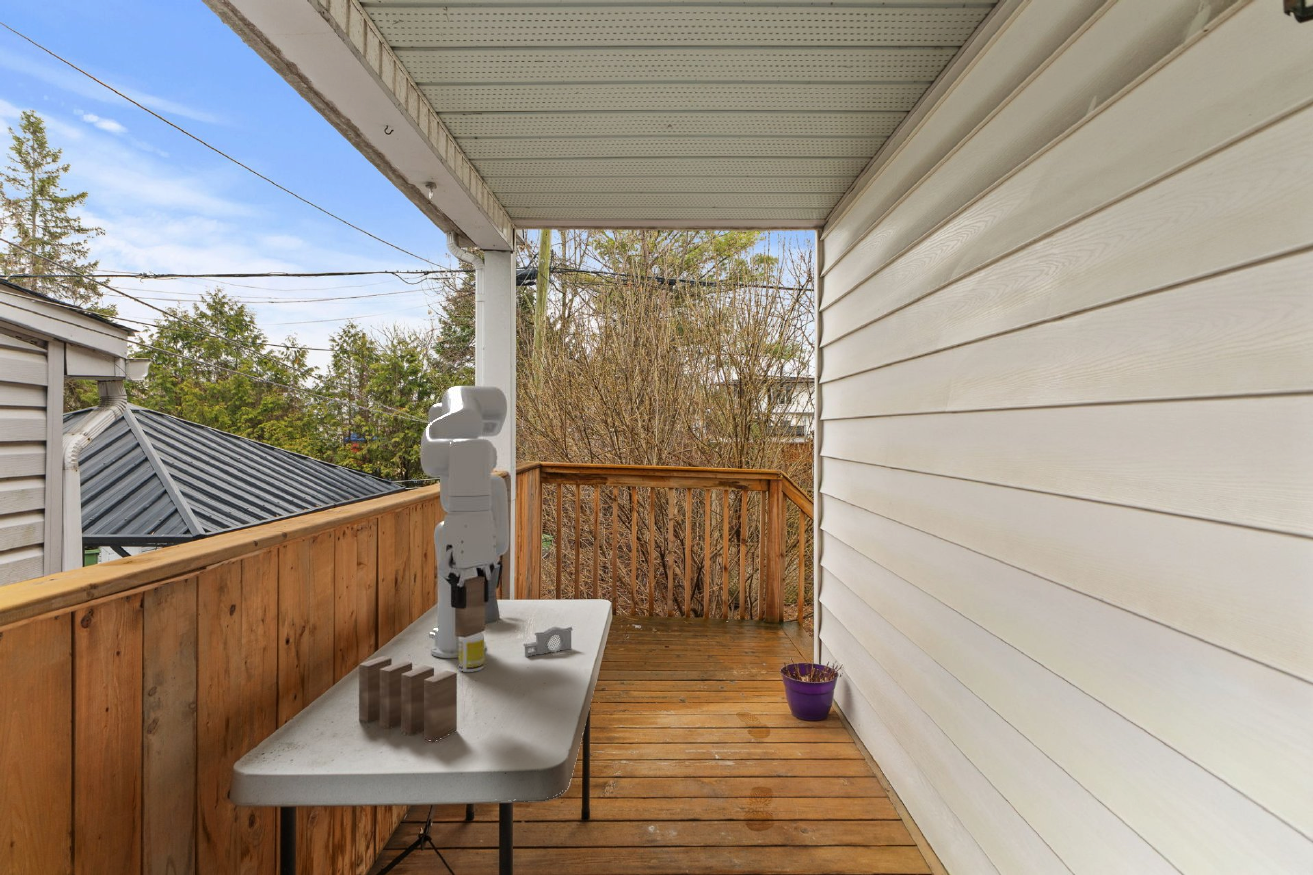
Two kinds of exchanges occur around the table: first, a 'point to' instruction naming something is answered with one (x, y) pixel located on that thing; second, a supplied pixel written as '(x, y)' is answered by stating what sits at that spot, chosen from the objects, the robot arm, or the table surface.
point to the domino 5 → (471, 609)
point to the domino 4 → (440, 705)
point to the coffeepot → (493, 595)
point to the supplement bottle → (471, 653)
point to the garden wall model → (544, 639)
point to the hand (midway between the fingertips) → (470, 603)
